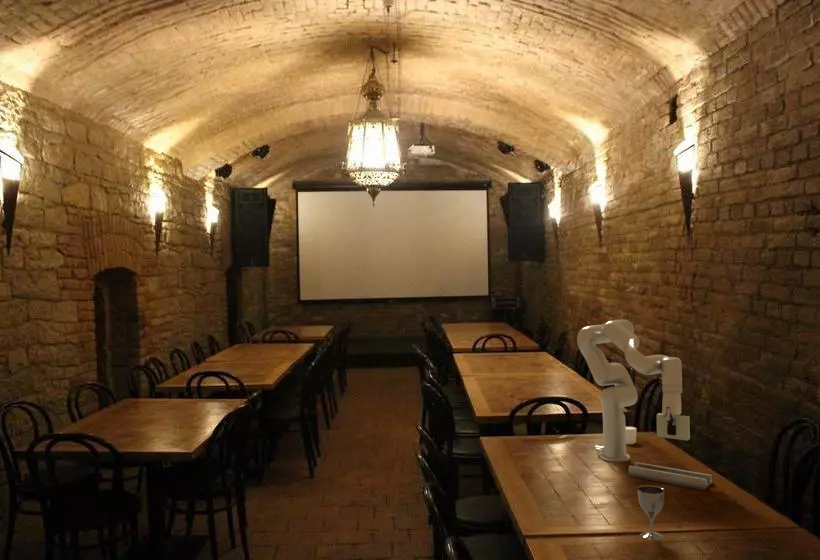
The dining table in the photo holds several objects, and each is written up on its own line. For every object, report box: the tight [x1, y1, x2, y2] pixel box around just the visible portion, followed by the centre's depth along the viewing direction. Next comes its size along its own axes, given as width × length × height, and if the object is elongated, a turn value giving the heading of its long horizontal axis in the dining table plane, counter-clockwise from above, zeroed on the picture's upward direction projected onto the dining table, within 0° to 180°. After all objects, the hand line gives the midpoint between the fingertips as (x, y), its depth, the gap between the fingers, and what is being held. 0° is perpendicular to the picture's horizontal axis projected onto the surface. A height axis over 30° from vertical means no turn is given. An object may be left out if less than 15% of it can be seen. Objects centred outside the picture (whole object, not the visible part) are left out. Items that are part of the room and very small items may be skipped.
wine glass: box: [637, 484, 665, 542], centre depth 217 cm, size 8×8×15 cm
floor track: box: [626, 461, 714, 491], centre depth 271 cm, size 30×10×4 cm, turn 50°
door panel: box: [656, 412, 691, 441], centre depth 274 cm, size 12×3×9 cm, turn 52°
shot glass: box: [626, 426, 637, 445], centre depth 325 cm, size 7×7×7 cm
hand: (673, 433), depth 274 cm, fingers closed on door panel, 3 cm apart
